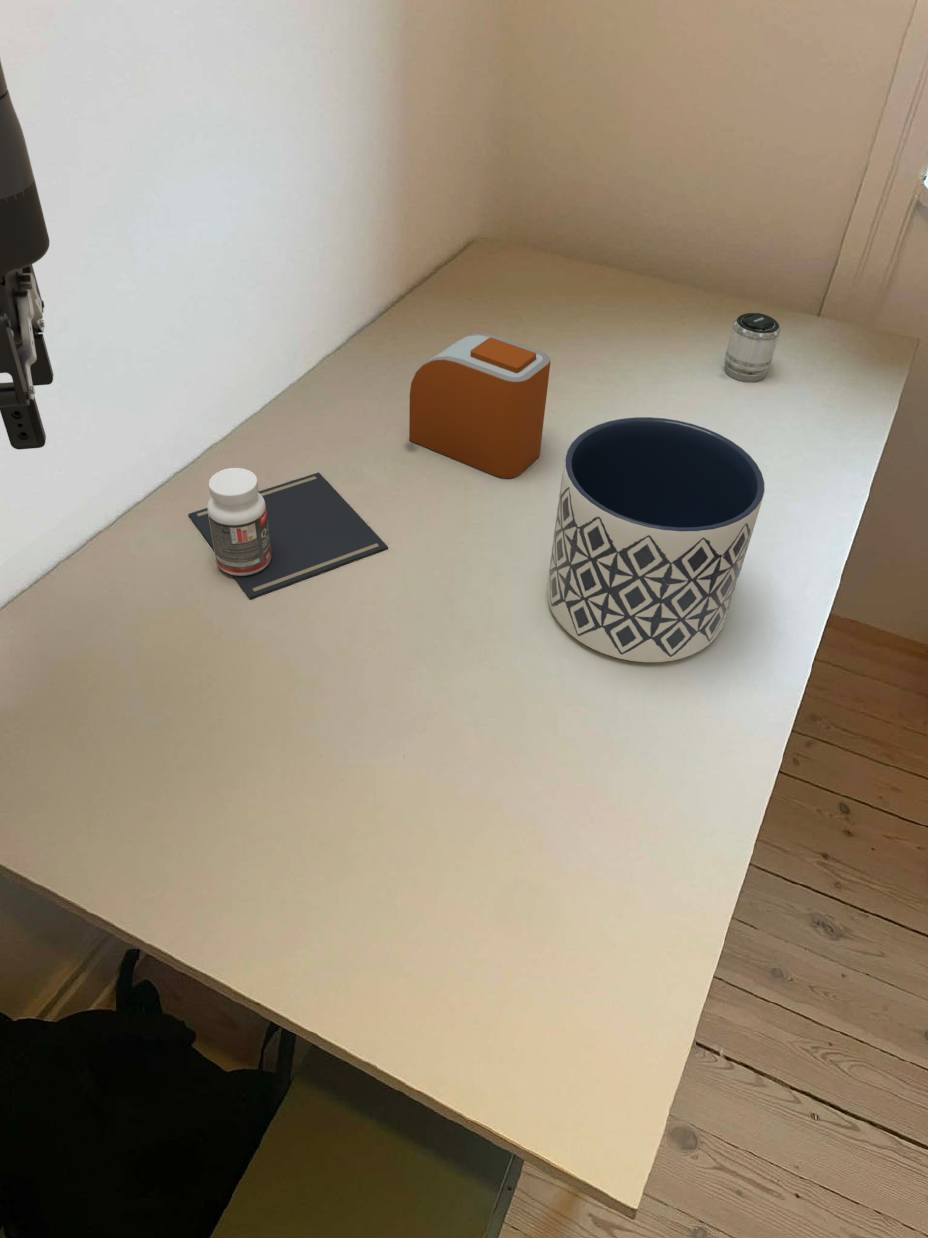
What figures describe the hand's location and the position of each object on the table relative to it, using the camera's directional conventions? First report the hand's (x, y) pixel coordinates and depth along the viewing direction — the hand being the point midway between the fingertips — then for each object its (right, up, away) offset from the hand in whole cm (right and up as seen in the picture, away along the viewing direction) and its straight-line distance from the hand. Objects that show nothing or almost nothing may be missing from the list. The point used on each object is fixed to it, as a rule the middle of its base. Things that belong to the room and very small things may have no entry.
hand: (34, 413), depth 69 cm
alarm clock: (+32, +6, +50) cm, 60 cm away
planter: (+48, -13, +30) cm, 58 cm away
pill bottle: (+8, -9, +32) cm, 34 cm away
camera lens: (+70, +20, +67) cm, 99 cm away
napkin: (+11, -5, +36) cm, 38 cm away
